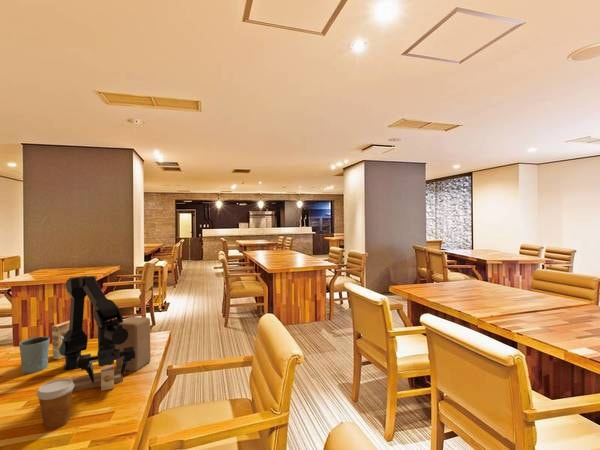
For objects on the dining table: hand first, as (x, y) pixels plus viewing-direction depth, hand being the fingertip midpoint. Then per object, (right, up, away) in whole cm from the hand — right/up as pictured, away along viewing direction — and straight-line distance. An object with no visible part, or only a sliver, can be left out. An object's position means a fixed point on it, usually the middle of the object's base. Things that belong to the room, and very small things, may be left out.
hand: (107, 379), depth 124 cm
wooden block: (+1, -3, +18) cm, 18 cm away
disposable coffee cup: (-3, -4, -22) cm, 22 cm away
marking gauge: (-1, -3, +3) cm, 4 cm away
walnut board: (-9, -3, +3) cm, 10 cm away
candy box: (-37, -3, +29) cm, 47 cm away
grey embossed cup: (-40, -3, +16) cm, 43 cm away
